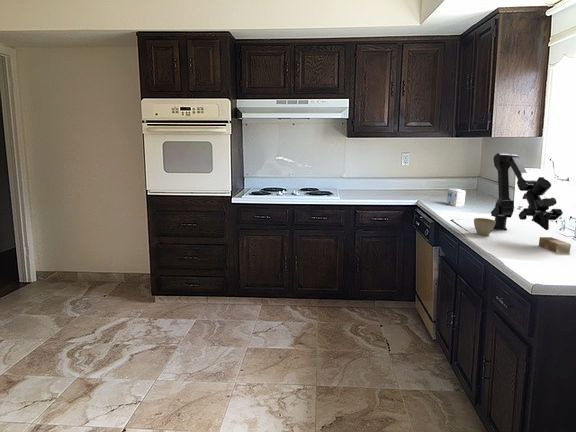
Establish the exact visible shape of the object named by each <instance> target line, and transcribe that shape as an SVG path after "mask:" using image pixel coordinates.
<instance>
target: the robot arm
mask: <svg viewBox="0 0 576 432" xmlns="http://www.w3.org/2000/svg"><path fill="white" fill-rule="evenodd" d="M492 160H493V164H494V168H495V169H496V170H497V181H498V182H497V183H498V185H497V186H498V199H496V202H495V207H494V208H493V209H492V210H491V212H490V215H491V217H494V220H495V221H496V223H495V226H494V228H493V229H494V230H495V229H496V230H504V231H507V230H508V227H507V220H508V218H510V219H511V218H512V215H514V214H513V213H514V210H515V202H514V200H513V199H511V198H510V184H509V183H510V182H509V181H510V179H509V176H510V175H509V169H510V168H511V169H512V171H513V173H514V175H515V176H516V179H517V181H516V185H517V188H518V189H519V191H520V192H525V193H523V195H522V200H526V201H527V203H528V206H527V207H524V208H523V209H522V210H520V211H519V214H518V218H519V220H520V221H521V220H526V219H527V217H532V219H531V222H534V223H536V224H537V225H539V226H540V227H541V228H542V229H544V230H545V231H548V230H550V225H549V224H550V223H549V222H550V221H556V220H558V219H559V218H560V217H561V216H562V215H563V214H564V213H563V210H562V209H561V208H552V209H550V207H553V206H555V205H557V199H556V197H549V198H548V197H546V198H545V197H544V198H541V196H544V195H545V193H546V192H547V191H549V189H551V187H552V183H551V182H550V181H549V180H548V179H546V178H545V177H544V176H539V177H538V179H537V180H536V179H535V178H534V177H533V176H532V175H530V174H529V173H528V171H527V170H526V169H525V167H524V165H523V163H522V161H521V160H520V155H518V154H515V153H514V154H510V153H503V152H501V153H499V152H498V153H496V154H495V155H494V156H493V158H492ZM549 209H550V211H548V210H549Z"/></svg>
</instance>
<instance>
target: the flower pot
mask: <svg viewBox="0 0 576 432" xmlns="http://www.w3.org/2000/svg"><path fill="white" fill-rule="evenodd" d="M495 223H496V221H495V219H493V218H492V219H490V218H485V217H484V218H483V217H475V218H474V219H473V226H474V229H475V231H476V233H477V235H479V236H489V235H491V232H492V231H493V229H494V226H495Z"/></svg>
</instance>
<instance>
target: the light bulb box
mask: <svg viewBox="0 0 576 432" xmlns="http://www.w3.org/2000/svg"><path fill="white" fill-rule="evenodd" d="M466 193H467V192H466V190H464V189H459V188H447V196H446V197H447V198H446V205H449V206H452V207H465V199H466Z"/></svg>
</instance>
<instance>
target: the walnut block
mask: <svg viewBox="0 0 576 432" xmlns="http://www.w3.org/2000/svg"><path fill="white" fill-rule="evenodd" d="M538 246H539V247H541V248H544V249H546V250H549V251H551V252H554V253H556V254H570V253H571V248H572V247H571V246H572V244H571V243H570V242H566V241H563V240H561V239H558V238H555V237H549V236H547V237H546V236H544V237H543V236H541V237H539V240H538Z"/></svg>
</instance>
